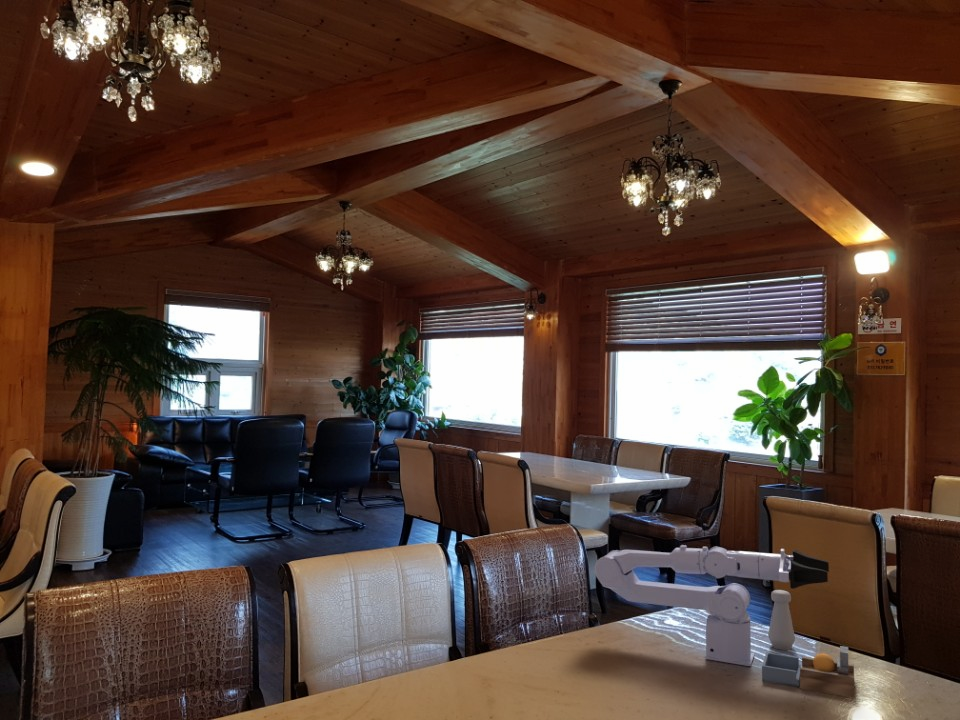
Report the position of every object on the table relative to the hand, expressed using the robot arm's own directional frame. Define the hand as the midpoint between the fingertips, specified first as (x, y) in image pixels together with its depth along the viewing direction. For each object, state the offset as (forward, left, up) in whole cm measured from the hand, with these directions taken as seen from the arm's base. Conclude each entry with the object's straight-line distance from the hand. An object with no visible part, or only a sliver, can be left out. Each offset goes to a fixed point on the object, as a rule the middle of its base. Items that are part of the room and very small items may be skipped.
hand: (828, 571), depth 153 cm
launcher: (0, -6, -22) cm, 22 cm away
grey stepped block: (+3, -6, -19) cm, 20 cm away
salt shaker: (-10, +13, -22) cm, 27 cm away
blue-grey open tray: (-9, -6, -22) cm, 24 cm away
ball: (-1, -6, -18) cm, 19 cm away
